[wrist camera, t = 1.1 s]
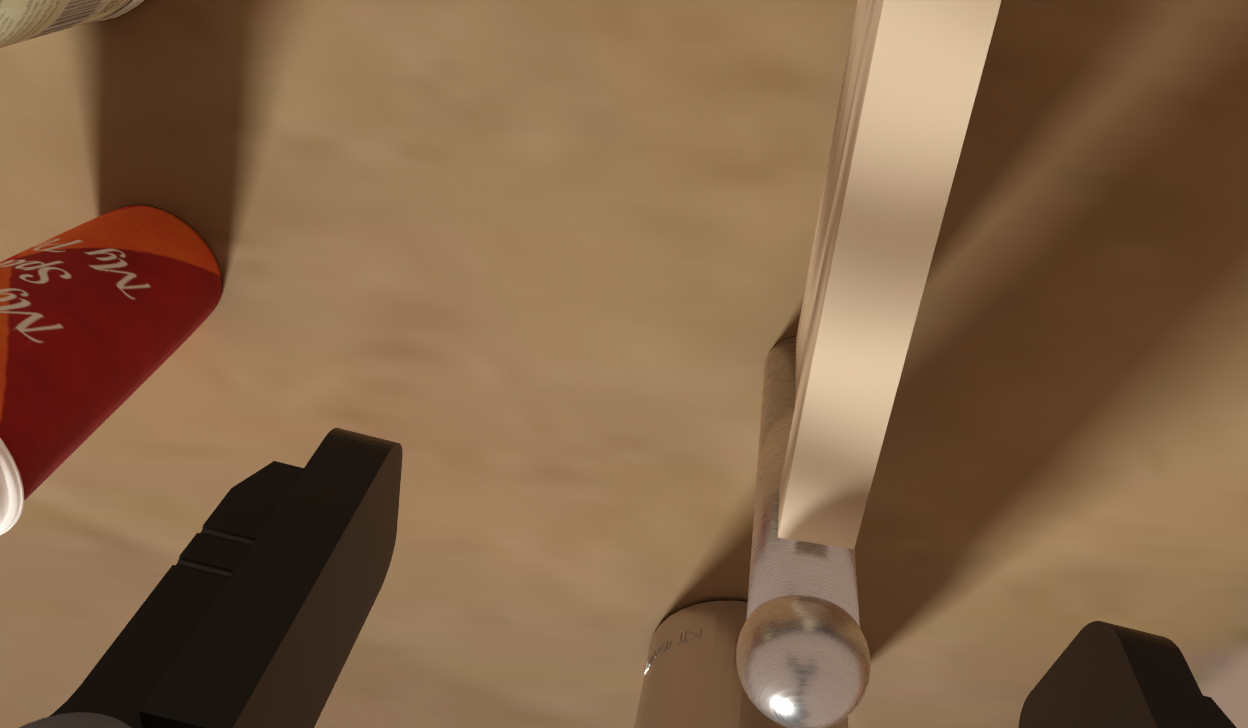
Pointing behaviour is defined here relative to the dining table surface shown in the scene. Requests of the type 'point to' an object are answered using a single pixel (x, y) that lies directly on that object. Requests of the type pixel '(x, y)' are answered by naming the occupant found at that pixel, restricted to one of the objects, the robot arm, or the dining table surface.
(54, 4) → the coffee can
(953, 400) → the dining table surface
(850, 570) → the hinge post
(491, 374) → the dining table surface
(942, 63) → the light wood flat panel
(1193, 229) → the dining table surface
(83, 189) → the dining table surface
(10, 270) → the paper cup
